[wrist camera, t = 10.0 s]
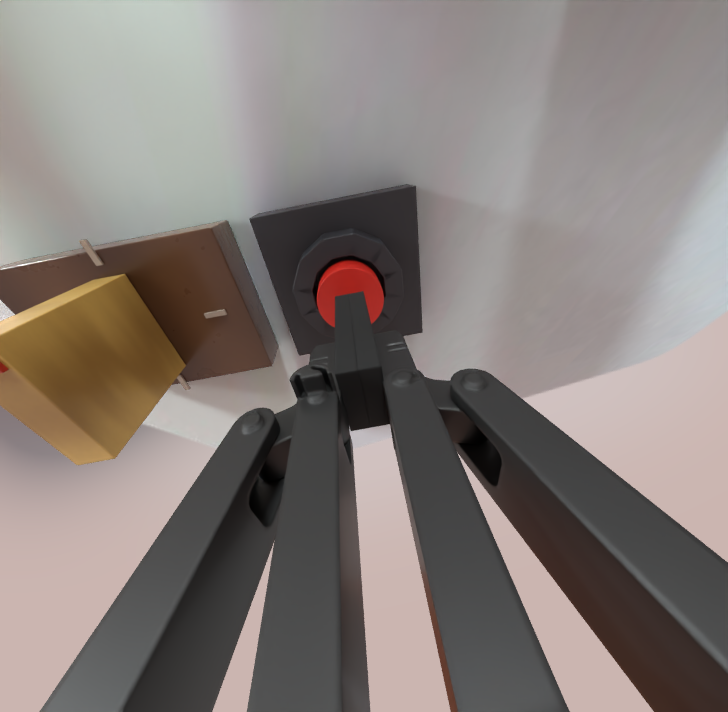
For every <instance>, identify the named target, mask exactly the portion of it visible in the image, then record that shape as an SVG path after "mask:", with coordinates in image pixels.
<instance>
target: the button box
mask: <svg viewBox="0 0 728 712" xmlns="http://www.w3.org/2000/svg"><path fill="white" fill-rule="evenodd" d="M250 222H251V225H252V228H253V230H254V233H255V236H256V239H257V241H258V244H259V247H260V250H261V252H262V255H263V258H264V261H265V263H266V266H267V269H268V271H269V274H270V277H271V280H272V282H273V285H274V288H275V291H276V293H277V296H278V299H279V302H280V304H281V307H282V310H283V313H284V315H285V318H286V321H287V324H288V326H289V329H290V332H291V335H292V337H293V340H294V343H295V346H296V348H297V351H298V354H299V355H304V354H310V353H311V352H312V350H313V349H314V348H315V346H316V345H321V344H327V343H332V342H335V327H333V326H331V325H330V324H328V323H327V322H326V321H325V320H324V319H323V317H322V316H321V314H320V312H319V310H318V306H317V292H318V285H319V281H320V278H321V276H322V274H323V273H324V272H325V270H326V269H327V268H328V267H330V266H331V265H333V264H334V263H336V262H339V261H343V260H356V261H360V262H362V263H364V264H366V265H368V266H369V267H370V268H371V269H372V270H373V271H374V272H375V274H376V276H377V277H378V280H379V282H380V285H381V287H382V290H383V294H384V304H383V308H382V311H381V313H380V315H379V316H378V318H377V319H376V320H375V321H374V322H373V323H372V324H371V325H372V329H373V333H374V334H376V333H381V332H386V331H392V330H396V331H398V332H399V333H400V334H402V335H403V336H406V335H411V334H416V333H422V332H423V331H422V309H421V287H420V266H419V244H418V222H417V200H416V186H413V185H402V186H396V187H391V188H386V189H381V190H376V191H371V192H366V193H361V194H356V195H351V196H346V197H341V198H336V199H330V200H325V201H320V202H315V203H310V204H305V205H300V206H295V207H290V208H285V209H280V210H275V211H269V212H264V213H259V214H257V215H255V216H253V217H251V218H250Z"/></svg>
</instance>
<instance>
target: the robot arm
mask: <svg viewBox="0 0 728 712" xmlns="http://www.w3.org/2000/svg"><path fill="white" fill-rule="evenodd" d="M290 382H291V385H292V387H293V390H294V392H295V394H296V397H297V399H298V400H297V403H296V404H295V405H294V406H292V407H290V408H288V409H286V410H284V411H281V412H279V413H277V414H274V413H273V411H271V410H270V409H268V408H257V409H253V410H251V411H249V412H247V413H245V414H244V415H242V416H241V417H240V418H239V419H238V420H237V421H236V422H235V423H234V424H233V426H232V427H231V429H230V430H229V432H228V433H227V435H226V436H225V438H224V439H223V441H222V442H221V444H220V445H219V447H218V448H217V450H216V451H215V453H214V454H213V456H212V457H211V459H210V460H209V462H208V463H207V465H206V466H205V467H204V469H203V470H202V472H201V473H200V475H199V476H198V478H197V479H196V481H195V482H194V484H193V485H192V487H191V488H190V490H189V491H188V493H187V494H186V496H185V497H184V499H183V500H182V502H181V503H180V504H179V506H178V508H177V509H176V510H175V512H174V513H173V515H172V516H171V518H170V519H169V521H168V522H167V524H166V525H165V527H164V528H163V530H162V531H161V533H160V534H159V536H158V537H157V539H156V540H155V542H154V543H153V545H152V546H151V547H150V549H149V551H148V552H147V553H146V555H145V556H144V558H143V559H142V561H141V562H140V564H139V565H138V567H137V568H136V570H135V571H134V573H133V574H132V576H131V577H130V579H129V580H128V582H127V583H126V585H125V586H124V588H123V589H122V591H121V592H120V593H119V595H118V596H117V598H116V600H115V601H114V602H113V604H112V605H111V607H110V608H109V610H108V611H107V613H106V614H105V616H104V617H103V619H102V620H101V622H100V623H99V625H98V626H97V628H96V629H95V630H94V632H93V633H92V635H91V636H90V638H89V639H88V641H87V642H86V644H85V645H84V647H83V648H82V650H81V651H80V653H79V654H78V656H77V657H76V659H75V660H74V662H73V663H72V665H71V666H70V668H69V669H68V671H67V672H66V673H65V675H64V676H63V678H62V679H61V681H60V682H59V684H58V685H57V687H56V688H55V690H54V691H53V693H52V694H51V696H50V697H49V699H48V700H47V702H46V703H45V705H44V706H43V708H42V709H41V710H40V712H212V710H213V708H214V705H215V702H216V699H217V697H218V694H219V691H220V688H221V686H222V683H223V680H224V677H225V675H226V672H227V669H228V666H229V664H230V661H231V658H232V655H233V653H234V650H235V647H236V644H237V642H238V639H239V636H240V633H241V631H242V628H243V625H244V622H245V620H246V617H247V614H248V611H249V609H250V606H251V603H252V600H253V598H254V595H255V592H256V590H257V587H258V584H259V581H260V579H261V576H262V573H263V570H264V568H265V565H266V562H267V559H268V557H269V554H270V551H271V548H272V546H273V543H274V548H273V555H272V560H271V566H270V572H269V579H268V585H267V592H266V597H265V603H264V609H263V616H262V622H261V628H260V634H259V641H258V647H257V653H256V659H255V666H254V671H253V678H252V684H251V690H250V696H249V702H248V709H247V712H370V701H369V687H368V686H369V685H368V670H367V657H366V656H367V655H366V641H365V627H364V610H363V596H362V581H361V567H360V551H359V536H358V522H357V507H356V491H355V478H354V461H353V446H352V441H351V437H350V432H349V426H350V430H351V431H354V430H359V429H365V428H370V427H376V426H381V425H387V424H390V426H391V432H392V438H393V444H394V449H395V452H396V456H397V461H398V466H399V471H400V475H401V480H402V484H403V489H404V494H405V499H406V503H407V508H408V513H409V517H410V522H411V527H412V531H413V536H414V541H415V546H416V550H417V555H418V560H419V564H420V569H421V574H422V578H423V583H424V588H425V592H426V597H427V602H428V607H429V611H430V616H431V620H432V625H433V630H434V634H435V639H436V644H437V649H438V653H439V658H440V663H441V667H442V672H443V676H444V682H445V686H446V691H447V696H448V700H449V705H450V710H451V712H570V711H569V709H568V707H567V705H566V703H565V701H564V698H563V696H562V694H561V691H560V689H559V687H558V684H557V682H556V680H555V677H554V675H553V673H552V671H551V668H550V666H549V664H548V661H547V659H546V657H545V654H544V652H543V650H542V647H541V645H540V643H539V640H538V638H537V636H536V634H535V632H534V629H533V627H532V624H531V622H530V620H529V617H528V615H527V613H526V611H525V608H524V606H523V604H522V601H521V599H520V597H519V594H518V592H517V590H516V587H515V585H514V583H513V581H512V578H511V576H510V574H509V571H508V569H507V567H506V564H505V562H504V560H503V557H502V555H501V553H500V550H499V548H498V546H497V544H496V541H495V539H494V537H493V534H492V532H491V530H490V527H489V525H488V523H487V521H486V518H485V516H484V513H483V511H482V509H481V507H480V504H479V502H478V500H477V497H476V495H475V493H474V490H473V488H472V486H471V483H470V481H469V479H468V476H467V474H466V472H465V470H464V468H463V465H462V463H461V460H460V458H459V456H458V454H459V455H460V456H461V458H462V459H463V460H464V462H465V463H466V464H467V466H468V467H469V468H470V469H471V471H472V472H473V473H474V475H475V476H476V477H477V479H478V480H479V481H480V483H481V484H482V485H483V487H484V488H485V489H486V490H487V492H488V493H489V495H490V496H491V497H492V499H493V500H494V501H495V502H496V504H497V505H498V506H499V508H500V509H501V510H502V512H503V513H504V514H505V516H506V517H507V518H508V520H509V521H510V522H511V523H512V525H513V526H514V528H515V529H516V530H517V531H518V533H519V534H520V535H521V537H522V538H523V539H524V541H525V542H526V543H527V545H528V546H529V547H530V549H531V550H532V551H533V553H534V554H535V555H536V557H537V558H538V559H539V560H540V562H541V563H542V564H543V566H544V567H545V568H546V570H547V571H548V572H549V574H550V575H551V576H552V577H553V579H554V580H555V582H556V583H557V584H558V586H559V587H560V588H561V590H562V591H563V592H564V593H565V595H566V596H567V597H568V599H569V600H570V601H571V603H572V604H573V605H574V607H575V608H576V609H577V611H578V612H579V613H580V615H581V616H582V617H583V619H584V620H585V621H586V622H587V624H588V625H589V626H590V628H591V629H592V630H593V632H594V633H595V634H596V635H597V637H598V638H599V639H600V641H601V642H602V644H603V645H604V646H605V648H606V649H607V650H608V652H609V653H610V654H611V655H612V657H613V658H614V659H615V661H616V662H617V663H618V665H619V666H620V667H621V669H622V670H623V671H624V673H625V674H626V675H627V676H628V678H629V679H630V680H631V682H632V683H633V684H634V686H635V687H636V688H637V690H638V691H639V692H640V693H641V695H642V696H643V698H644V699H645V700H646V702H647V703H648V704H649V706H650V707H651V708H652V709H653V711H654V712H728V562H726V561H725V560H724V559H722V558H721V557H720V556H719V555H717V554H716V553H715V552H714V551H712V550H711V549H710V548H708V547H707V546H706V545H705V544H704V543H702V542H701V541H700V540H699V539H697V538H696V537H695V536H694V535H692V534H691V533H690V532H689V531H687V530H686V529H685V528H684V527H682V526H681V525H680V524H678V523H677V522H676V521H675V520H673V519H672V518H671V517H670V516H668V515H667V514H666V513H665V512H663V511H662V510H661V509H660V508H658V507H657V506H656V505H654V504H653V503H652V502H651V501H649V500H648V499H647V498H646V497H644V496H643V495H642V494H641V493H639V492H638V491H637V490H636V489H635V488H633V487H632V486H631V485H629V484H628V483H627V482H626V481H624V480H623V479H622V478H621V477H619V476H618V475H617V474H616V473H614V472H613V471H612V470H610V469H609V468H608V467H607V466H606V465H604V464H603V463H602V462H601V461H599V460H598V459H597V458H596V457H594V456H593V455H592V454H590V453H589V452H588V451H587V450H585V449H584V448H583V447H582V446H580V445H579V444H578V443H577V442H575V441H574V440H573V439H572V438H570V437H569V436H568V435H567V434H565V433H564V432H563V431H561V430H560V429H559V428H558V427H557V426H555V425H554V424H553V423H551V422H550V421H549V420H548V419H547V418H545V417H544V416H543V415H541V414H540V413H539V412H538V411H536V410H535V409H534V408H533V407H531V406H530V405H529V404H528V403H526V402H525V401H524V400H523V399H521V398H520V397H519V396H518V395H516V394H515V393H514V392H513V391H511V390H510V389H509V388H508V387H506V386H505V385H504V384H503V383H501V382H500V381H499V380H498V379H496V378H495V377H494V376H492V375H491V374H489V373H487V372H486V371H482V370H478V369H465V370H460V371H458V372H456V373H455V374H454V375H453V376H452V378H451V381H443V380H433V379H429V378H426V377H424V375H423V374H422V373H421V372H420V371H419V370H417V369H416V366H415V364H414V362H413V359H412V357H411V354H410V352H409V350H408V347H407V345H406V343H405V340H404V338H403V335H402V334H400V333H399V332H398V331H396V330H392V331H386V332H381V333H376V334H374V333H373V329H372V325H371V321H370V316H369V312H368V308H367V304H366V300H365V296H364V291H361V292H356V293H351V294H345V295H340V296H335V342H332V343H327V344H321V345H316V346H315V348H314V349H313V350H312V352H311V353H310V362H309V365H306V366H304V367H302V368H300V369H298V370H297V371H296V372H295V373H294V374H293V375H292V376H291V378H290ZM457 452H458V453H457ZM274 540H275V542H274Z"/></svg>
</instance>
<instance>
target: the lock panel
mask: <svg viewBox="0 0 728 712" xmlns="http://www.w3.org/2000/svg"><path fill="white" fill-rule="evenodd" d="M79 242H80V244H81V245H82V246H83V248H82V249H77V250H72V251H66V252H61V253H56V254H51V255H46V256H41V257H36V258H31V259H26V260H21V261H18V262H14V263H11V264H7V265H4V266H0V300H1V301H2V302H3V303H4V304H5V305H6V306H7V307H8V308H9V309H10V310H11V311H12V312H13V313H14V314H15V315H16V314H18V313H20V312H23V311H25V310H27V309H29V308H32V307H34V306H36V305H38V304H40V303H43V302H45V301H47V300H49V299H52V298H54V297H56V296H58V295H61V294H63V293H65V292H67V291H69V290H72V289H74V288H76V287H78V286H81V285H83V284H85V283H87V282H90V281H92V280H95V279H100V278H105V277H111V276H116V275H121V274H125V275H126V276H127V278H128V279H129V281H130V282H131V284H132V285H133V287H134V288H135V290H136V291H137V293H138V294H139V296H140V297H141V299H142V300H143V302H144V303H145V305H146V306H147V308H148V309H149V311H150V312H151V314H152V315H153V317H154V318H155V320H156V321H157V323H158V324H159V326H160V327H161V329H162V330H163V332H164V333H165V335H166V336H167V338H168V339H169V341H170V342H171V344H172V345H173V347H174V348H175V350H176V351H177V353H178V354H179V356H180V357H181V359H182V360H183V362H184V363H185V365H186V366H185V368H184V369H183V370H182V372H181V373H180V374H179V376H178V377H177V378H176V379H175V381H174V382H173V383H172V385H173V384H178V383H181V384H182V386H183V387H184V389H185V390H189V389H191V388H190V386H189V385H188V383H187V382H189V381H194V380H200V379H205V378H210V377H216V376H221V375H226V374H232V373H237V372H242V371H248V370H253V369H258V368H264V367H269V366H272V365H273V362H274V359H275V356H276V352H277V349H278V343H277V341H276V338H275V336H274V333H273V331H272V328H271V326H270V323H269V321H268V318H267V316H266V314H265V311H264V309H263V306H262V304H261V301H260V299H259V296H258V294H257V291H256V289H255V287H254V284H253V282H252V279H251V277H250V274H249V272H248V269H247V267H246V264H245V262H244V259H243V257H242V255H241V252H240V250H239V247H238V245H237V242H236V240H235V237H234V235H233V232H232V230H231V227H230V225H229V223H228V221H227V220H224V221H219V222H214V223H209V224H204V225H199V226H193V227H188V228H183V229H178V230H173V231H168V232H163V233H158V234H153V235H148V236H143V237H138V238H132V239H127V240H122V241H117V242H112V243H107V244H102V245H97V246H91V245H90V243H89V242H88V240H87V239H85V240H80V241H79Z"/></svg>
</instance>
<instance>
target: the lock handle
mask: <svg viewBox="0 0 728 712" xmlns="http://www.w3.org/2000/svg"><path fill="white" fill-rule="evenodd" d="M185 366H186V365H185V363H184V362H183V360H182V359H181V357H180V356H179V354H178V353H177V351H176V350H175V348H174V347H173V345H172V344H171V342H170V341H169V339H168V338H167V336H166V335H165V333H164V332H163V330H162V329H161V327H160V326H159V324H158V323H157V321H156V320H155V318H154V317H153V315H152V314H151V312H150V311H149V309H148V308H147V306H146V305H145V303H144V302H143V300H142V299H141V297H140V296H139V294H138V293H137V291H136V290H135V288H134V287H133V285H132V284H131V282H130V281H129V279H128V278H127V276H126V275H125V274H121V275H116V276H111V277H105V278H100V279H95V280H92V281H90V282H87V283H85V284H83V285H81V286H78V287H76V288H74V289H72V290H69V291H67V292H65V293H63V294H61V295H58V296H56V297H54V298H52V299H49V300H47V301H45V302H43V303H40V304H38V305H36V306H34V307H32V308H29V309H27V310H25V311H23V312H20V313H18V314H16V315H14V316H11V317H9V318H7V319H5V320H3V321H0V405H1V406H2V407H3V408H4V409H6V410H7V411H8V412H9V413H11V414H12V415H13V416H15V417H16V418H17V419H18V420H20V421H21V422H22V423H23V424H25V425H26V426H27V427H29V428H30V429H31V430H33V431H34V432H35V433H36V434H38V435H39V436H40V437H42V438H43V439H44V440H45V441H47V442H48V443H49V444H51V445H52V446H53V447H54V448H56V449H57V450H58V451H60V452H61V453H62V454H63V455H65V456H66V457H67V458H69V459H70V460H71V461H72V462H74V463H75V464H76V465H82V464H88V463H92V462H99V461H104V460H110V459H115V458H116V457H117V455H118V454H119V453H120V451H121V450H122V449H123V448H124V446H125V445H126V444H127V442H128V441H129V440H130V438H131V437H132V436H133V434H134V433H135V432H136V431H137V429H138V428H139V426H140V425H141V424H142V423H143V421H144V420H145V419H146V417H147V416H148V415H149V414H150V412H151V411H152V410H153V408H154V407H155V406H156V404H157V403H158V402H159V400H160V399H161V398H162V397H163V395H164V394H165V393H166V391H167V390H168V389H169V387H170V386H171V385H172V383H173V382H174V381H175V379H176V378H177V377H178V376H179V374H180V373H181V372H182V370H183V369H184V368H185Z"/></svg>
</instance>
